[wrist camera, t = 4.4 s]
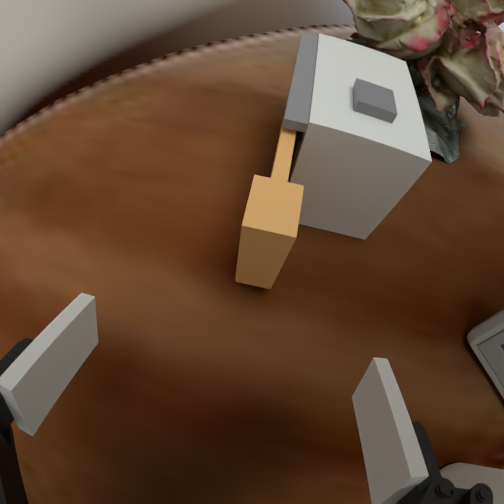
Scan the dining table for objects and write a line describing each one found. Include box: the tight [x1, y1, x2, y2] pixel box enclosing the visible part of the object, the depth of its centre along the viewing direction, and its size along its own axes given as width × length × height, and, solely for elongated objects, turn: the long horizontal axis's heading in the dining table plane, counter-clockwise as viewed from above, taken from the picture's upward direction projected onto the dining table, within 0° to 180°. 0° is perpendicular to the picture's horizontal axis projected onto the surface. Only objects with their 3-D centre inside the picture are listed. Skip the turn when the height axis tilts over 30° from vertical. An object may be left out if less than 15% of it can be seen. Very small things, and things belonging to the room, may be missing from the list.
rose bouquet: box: [343, 0, 504, 164], centre depth 28 cm, size 26×29×30 cm
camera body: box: [282, 31, 432, 240], centre depth 27 cm, size 15×11×14 cm
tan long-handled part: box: [235, 63, 304, 289], centre depth 25 cm, size 18×3×10 cm, turn 169°
